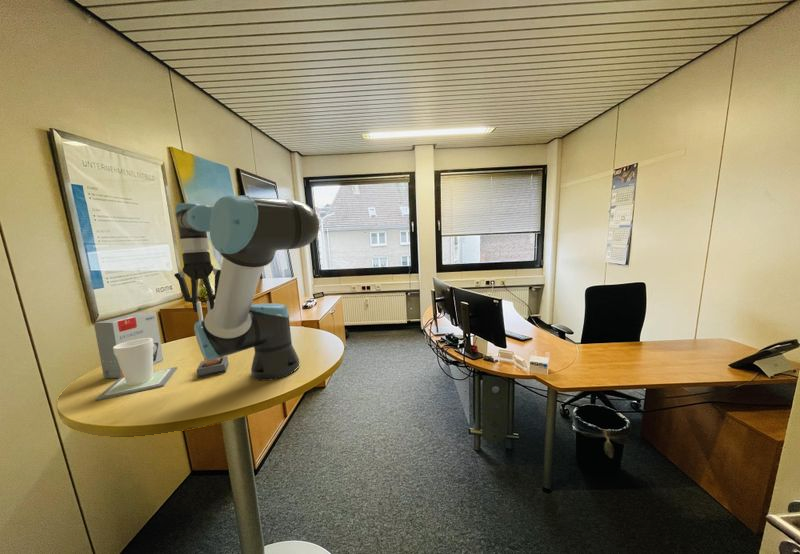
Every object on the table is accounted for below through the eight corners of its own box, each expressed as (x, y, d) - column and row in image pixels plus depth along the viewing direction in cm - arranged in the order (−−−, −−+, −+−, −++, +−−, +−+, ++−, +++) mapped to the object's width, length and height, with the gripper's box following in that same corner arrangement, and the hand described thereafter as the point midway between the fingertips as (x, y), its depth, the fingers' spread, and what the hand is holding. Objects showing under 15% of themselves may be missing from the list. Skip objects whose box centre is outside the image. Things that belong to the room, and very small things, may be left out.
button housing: (225, 372, 97) (224, 364, 97) (197, 378, 94) (196, 369, 93) (228, 363, 104) (227, 356, 104) (202, 369, 101) (201, 361, 100)
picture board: (163, 386, 89) (163, 383, 89) (95, 400, 83) (95, 398, 83) (177, 368, 103) (176, 366, 103) (119, 379, 96) (119, 377, 96)
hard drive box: (120, 378, 97) (109, 323, 94) (102, 378, 98) (91, 323, 96) (164, 359, 112) (156, 311, 110) (148, 359, 113) (140, 311, 111)
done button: (219, 364, 97) (218, 356, 97) (203, 368, 96) (202, 359, 95) (221, 360, 102) (220, 352, 101) (206, 363, 100) (205, 355, 99)
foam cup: (135, 389, 87) (127, 349, 86) (112, 387, 89) (104, 348, 88) (166, 374, 96) (160, 338, 95) (145, 373, 98) (138, 337, 97)
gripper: (224, 250, 100) (232, 314, 103) (171, 253, 94) (182, 321, 97) (220, 250, 93) (230, 318, 96) (163, 253, 87) (175, 326, 90)
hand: (206, 319), depth 97 cm, fingers open, 2 cm apart
